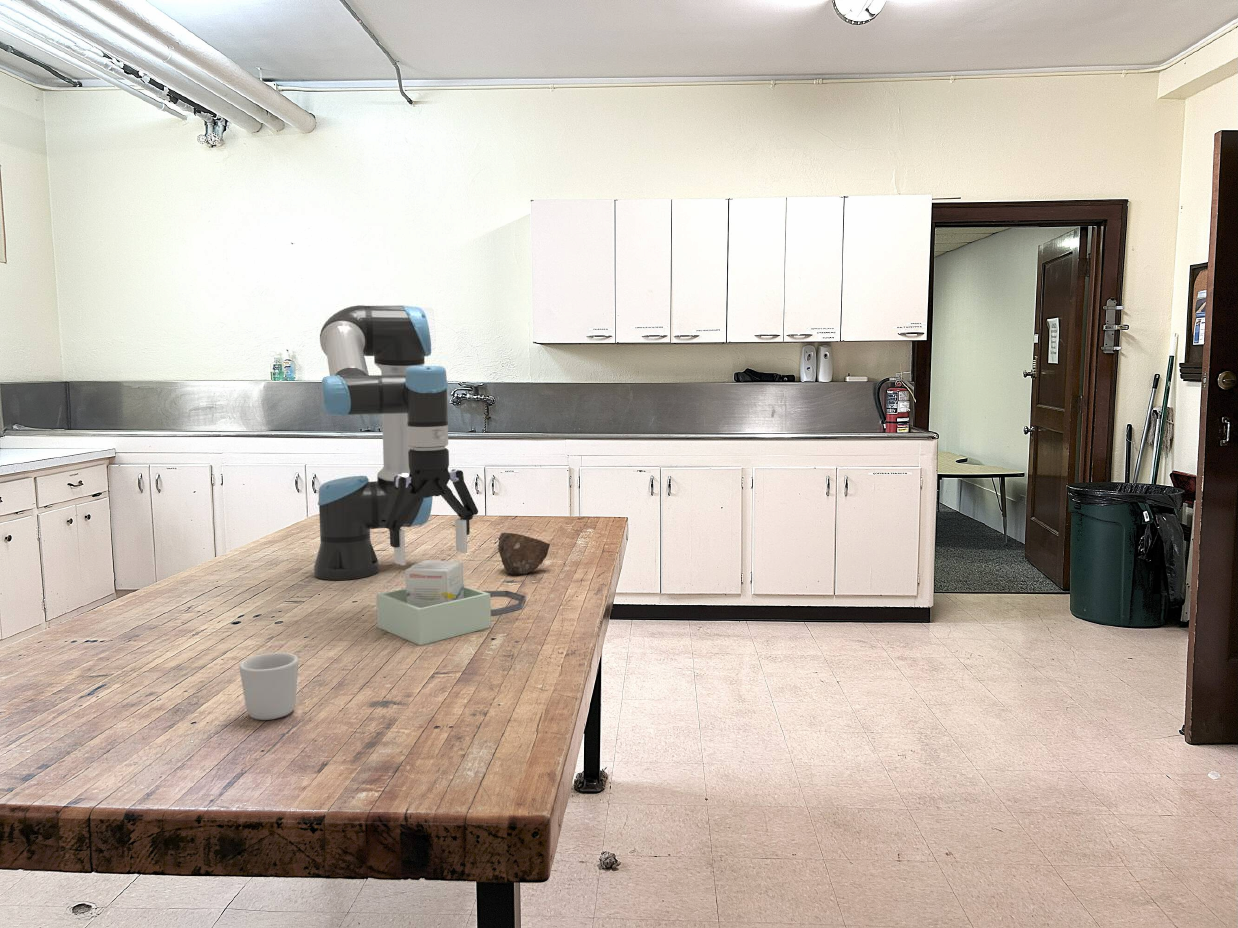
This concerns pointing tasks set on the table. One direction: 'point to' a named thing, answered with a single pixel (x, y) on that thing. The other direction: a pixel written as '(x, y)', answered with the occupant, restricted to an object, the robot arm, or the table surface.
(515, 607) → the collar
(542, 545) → the rock
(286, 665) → the cup
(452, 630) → the bin
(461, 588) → the ink box
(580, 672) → the table surface
